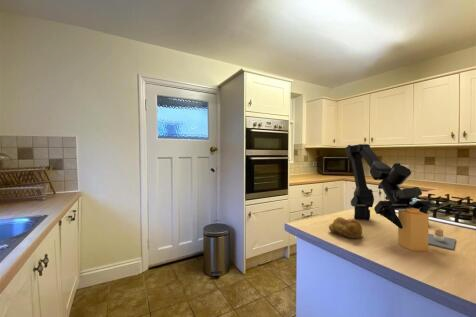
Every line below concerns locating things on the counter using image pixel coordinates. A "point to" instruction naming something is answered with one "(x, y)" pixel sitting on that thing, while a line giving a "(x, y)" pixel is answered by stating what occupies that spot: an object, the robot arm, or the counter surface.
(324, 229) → the counter surface
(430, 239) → the plate
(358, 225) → the bread roll
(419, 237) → the orange toy brick
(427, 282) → the counter surface
